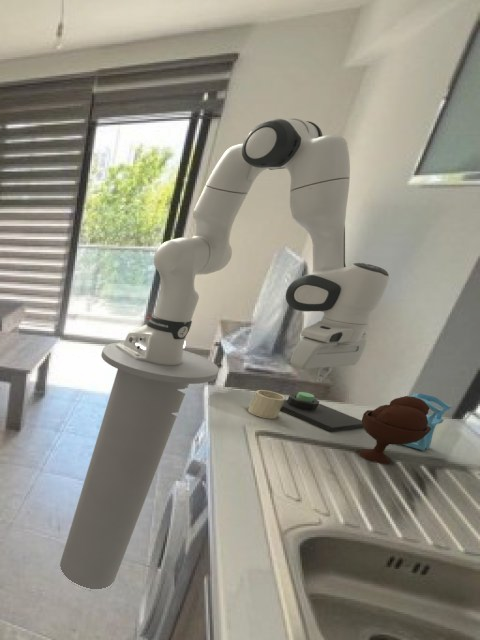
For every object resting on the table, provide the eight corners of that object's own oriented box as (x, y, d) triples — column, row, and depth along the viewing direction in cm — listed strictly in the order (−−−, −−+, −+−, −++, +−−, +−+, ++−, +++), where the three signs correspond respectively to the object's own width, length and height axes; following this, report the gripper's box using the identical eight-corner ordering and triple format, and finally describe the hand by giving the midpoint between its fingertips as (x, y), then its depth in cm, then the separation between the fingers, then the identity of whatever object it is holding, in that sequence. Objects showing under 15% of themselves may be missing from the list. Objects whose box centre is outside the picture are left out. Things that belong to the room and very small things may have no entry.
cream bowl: (242, 409, 131) (250, 390, 129) (259, 407, 133) (268, 389, 130) (264, 419, 126) (273, 400, 123) (282, 417, 127) (291, 398, 125)
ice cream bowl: (339, 441, 117) (372, 384, 110) (401, 456, 111) (440, 397, 104) (345, 458, 109) (381, 398, 102) (412, 475, 103) (454, 413, 96)
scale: (269, 405, 135) (274, 395, 133) (303, 401, 138) (308, 392, 136) (329, 431, 121) (335, 421, 120) (365, 427, 124) (372, 416, 123)
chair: (419, 452, 113) (450, 407, 107) (375, 437, 119) (402, 393, 114) (433, 446, 116) (464, 401, 110) (389, 431, 123) (416, 388, 117)
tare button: (292, 398, 133) (295, 392, 132) (301, 397, 134) (304, 391, 133) (305, 403, 130) (308, 397, 129) (315, 402, 131) (318, 396, 130)
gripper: (354, 326, 128) (330, 375, 134) (298, 329, 123) (275, 379, 129) (382, 333, 122) (355, 383, 129) (323, 336, 117) (298, 388, 124)
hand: (314, 381), depth 129 cm, fingers closed
